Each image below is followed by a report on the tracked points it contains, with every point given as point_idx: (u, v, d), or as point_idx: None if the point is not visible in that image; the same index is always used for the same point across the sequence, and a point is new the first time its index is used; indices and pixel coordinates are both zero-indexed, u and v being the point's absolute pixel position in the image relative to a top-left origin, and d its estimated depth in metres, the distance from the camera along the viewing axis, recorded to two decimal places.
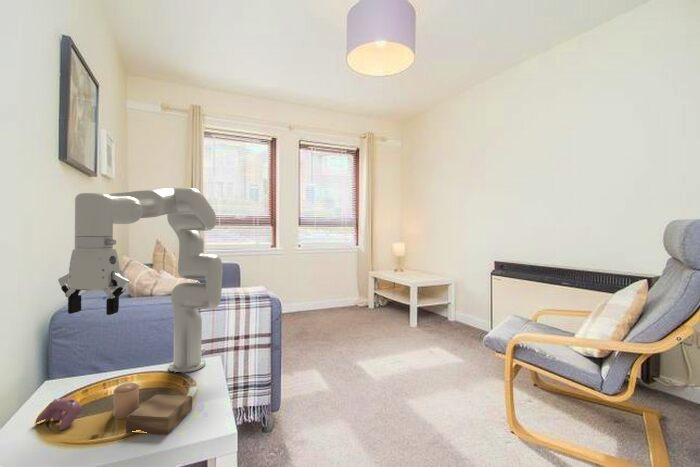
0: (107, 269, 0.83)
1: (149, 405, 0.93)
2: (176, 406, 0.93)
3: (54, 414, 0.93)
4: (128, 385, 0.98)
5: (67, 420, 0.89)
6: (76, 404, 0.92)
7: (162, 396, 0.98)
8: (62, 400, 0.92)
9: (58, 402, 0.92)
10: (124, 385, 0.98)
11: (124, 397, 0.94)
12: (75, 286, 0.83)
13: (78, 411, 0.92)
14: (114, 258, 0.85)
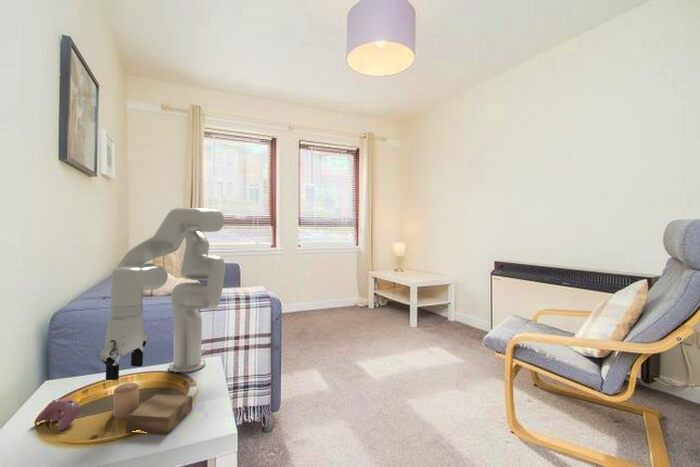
0: None
1: (149, 405, 0.93)
2: (176, 406, 0.93)
3: (53, 415, 0.92)
4: (128, 385, 0.98)
5: (66, 421, 0.89)
6: (75, 405, 0.92)
7: (162, 396, 0.98)
8: (61, 401, 0.92)
9: (57, 402, 0.92)
10: (124, 385, 0.98)
11: (124, 397, 0.94)
12: (125, 351, 0.93)
13: (77, 412, 0.92)
14: None
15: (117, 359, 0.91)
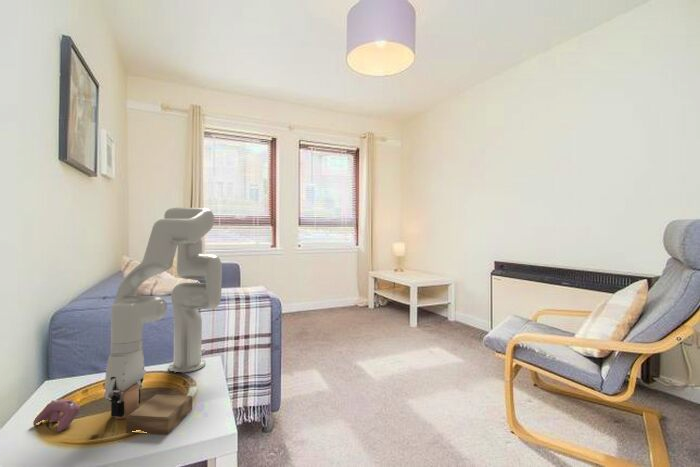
0: None
1: (149, 405, 0.93)
2: (176, 406, 0.93)
3: (52, 415, 0.92)
4: None
5: (65, 421, 0.89)
6: (74, 405, 0.92)
7: (162, 396, 0.98)
8: (60, 401, 0.92)
9: (56, 403, 0.92)
10: None
11: (124, 397, 0.94)
12: (126, 387, 0.94)
13: (76, 412, 0.91)
14: None
15: (121, 396, 0.93)
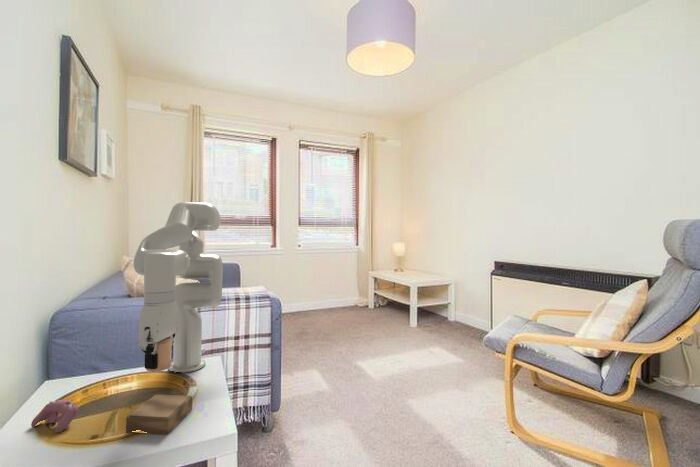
0: None
1: (149, 405, 0.93)
2: (176, 406, 0.93)
3: (50, 416, 0.92)
4: None
5: (63, 422, 0.88)
6: (72, 406, 0.91)
7: (162, 396, 0.98)
8: (58, 402, 0.91)
9: (54, 404, 0.91)
10: None
11: (157, 349, 0.91)
12: (160, 338, 0.90)
13: (74, 413, 0.91)
14: None
15: (155, 348, 0.90)
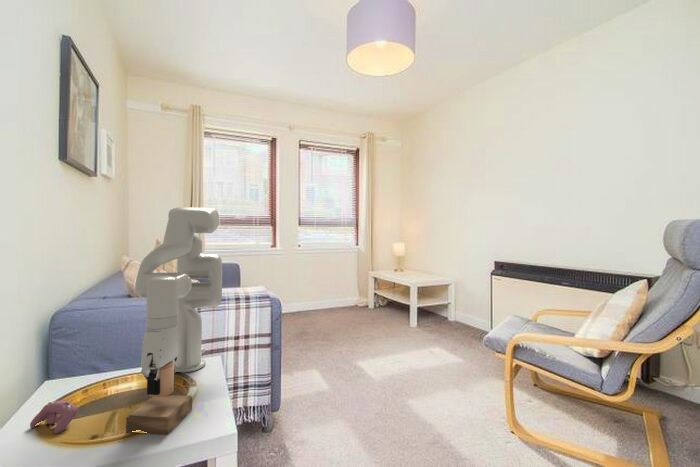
0: None
1: (149, 405, 0.93)
2: (176, 406, 0.93)
3: (49, 417, 0.91)
4: None
5: (62, 423, 0.88)
6: (71, 407, 0.91)
7: (162, 396, 0.98)
8: (57, 403, 0.91)
9: (53, 404, 0.91)
10: None
11: (160, 375, 0.90)
12: (162, 364, 0.90)
13: (73, 414, 0.91)
14: None
15: (158, 373, 0.89)
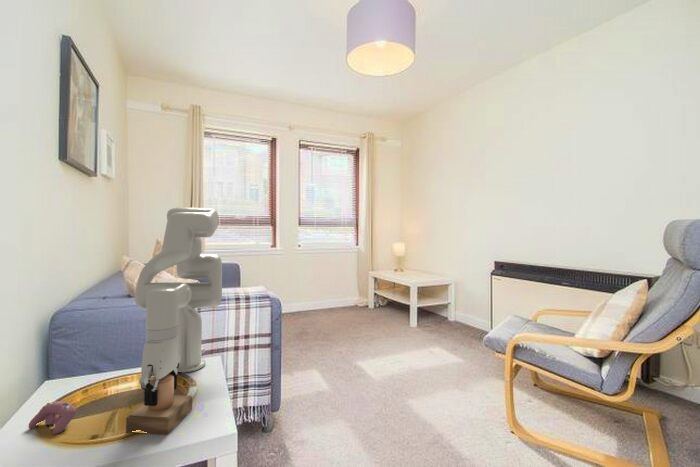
0: None
1: None
2: (176, 406, 0.93)
3: (47, 418, 0.91)
4: None
5: (61, 424, 0.87)
6: (70, 407, 0.91)
7: None
8: (56, 403, 0.91)
9: (51, 405, 0.90)
10: None
11: (160, 388, 0.91)
12: (162, 375, 0.90)
13: (72, 414, 0.90)
14: None
15: (155, 384, 0.89)
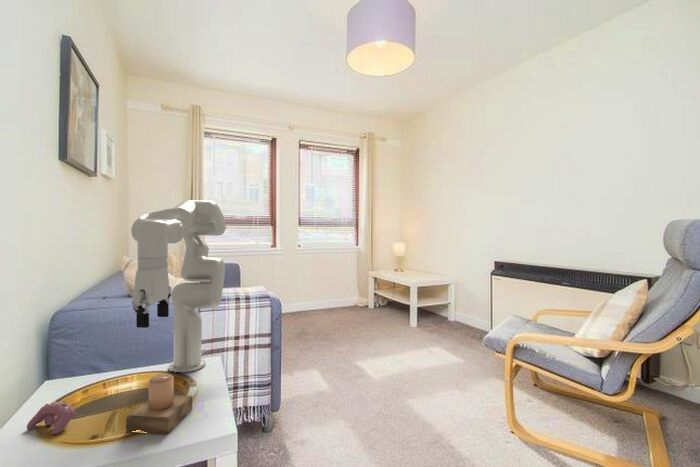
0: None
1: None
2: (176, 406, 0.93)
3: (46, 419, 0.90)
4: (163, 376, 0.94)
5: (60, 425, 0.87)
6: (69, 408, 0.90)
7: None
8: (54, 404, 0.90)
9: (50, 406, 0.90)
10: (158, 376, 0.94)
11: (159, 388, 0.91)
12: (154, 301, 0.96)
13: (71, 415, 0.90)
14: None
15: (147, 308, 0.94)
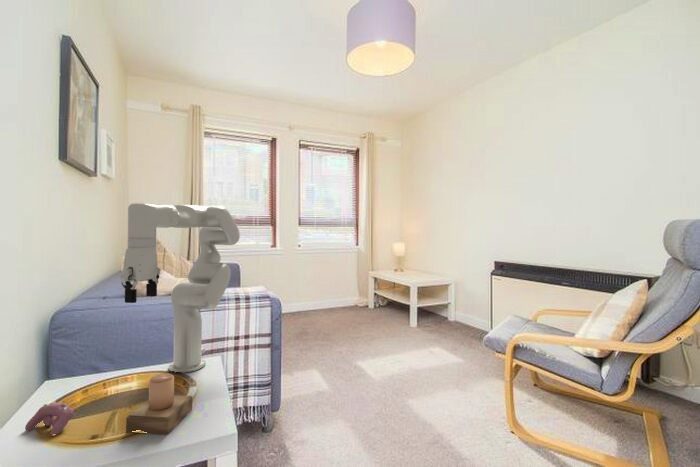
0: None
1: None
2: (176, 406, 0.93)
3: (44, 419, 0.90)
4: (163, 375, 0.95)
5: (59, 425, 0.87)
6: (68, 409, 0.90)
7: None
8: (53, 405, 0.90)
9: (49, 407, 0.90)
10: (159, 375, 0.95)
11: (159, 387, 0.91)
12: (142, 278, 1.03)
13: (70, 416, 0.89)
14: None
15: (135, 284, 1.01)
